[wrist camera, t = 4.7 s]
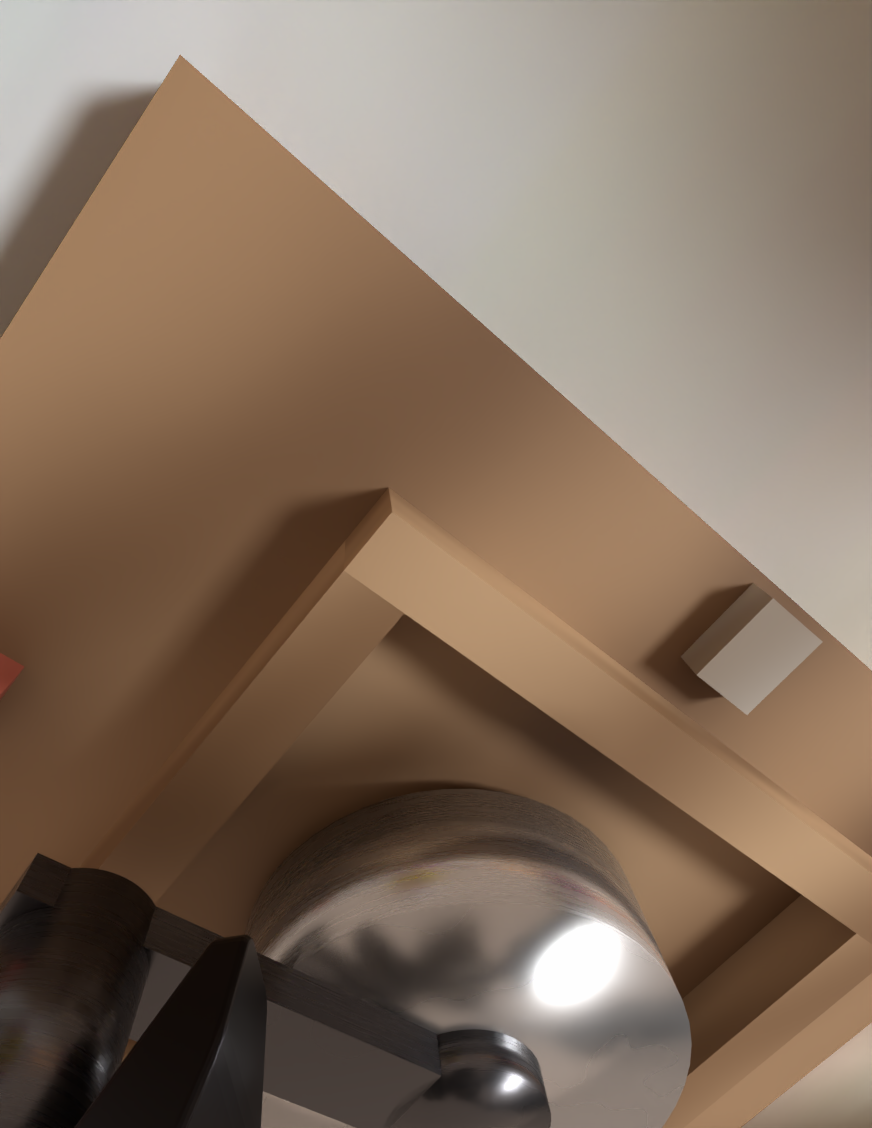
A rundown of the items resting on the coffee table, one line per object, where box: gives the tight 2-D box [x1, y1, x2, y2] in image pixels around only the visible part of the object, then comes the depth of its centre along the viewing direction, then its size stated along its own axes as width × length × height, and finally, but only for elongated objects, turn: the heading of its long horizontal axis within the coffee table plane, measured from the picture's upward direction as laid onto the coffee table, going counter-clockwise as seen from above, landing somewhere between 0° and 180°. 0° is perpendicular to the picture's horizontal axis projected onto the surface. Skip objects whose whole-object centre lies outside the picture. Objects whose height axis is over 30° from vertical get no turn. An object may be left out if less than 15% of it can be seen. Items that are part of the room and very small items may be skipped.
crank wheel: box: [0, 789, 692, 1128], centre depth 10 cm, size 10×7×6 cm, turn 53°
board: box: [0, 55, 872, 1128], centre depth 13 cm, size 20×15×2 cm
